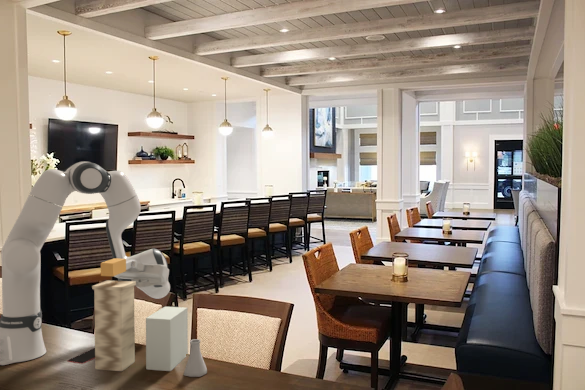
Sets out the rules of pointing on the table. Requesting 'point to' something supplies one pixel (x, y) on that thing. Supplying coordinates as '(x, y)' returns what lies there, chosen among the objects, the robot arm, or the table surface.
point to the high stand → (114, 325)
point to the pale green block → (166, 338)
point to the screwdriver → (115, 266)
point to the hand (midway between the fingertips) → (128, 263)
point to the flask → (195, 361)
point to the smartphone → (83, 357)
